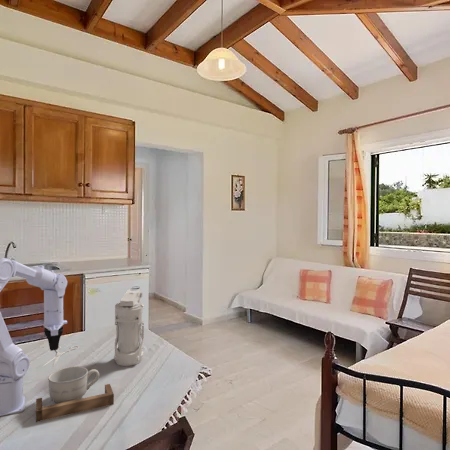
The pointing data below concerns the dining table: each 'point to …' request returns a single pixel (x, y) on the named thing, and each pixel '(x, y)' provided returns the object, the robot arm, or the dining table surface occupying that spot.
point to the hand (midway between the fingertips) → (53, 349)
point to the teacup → (70, 383)
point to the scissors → (60, 354)
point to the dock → (74, 405)
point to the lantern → (129, 329)
